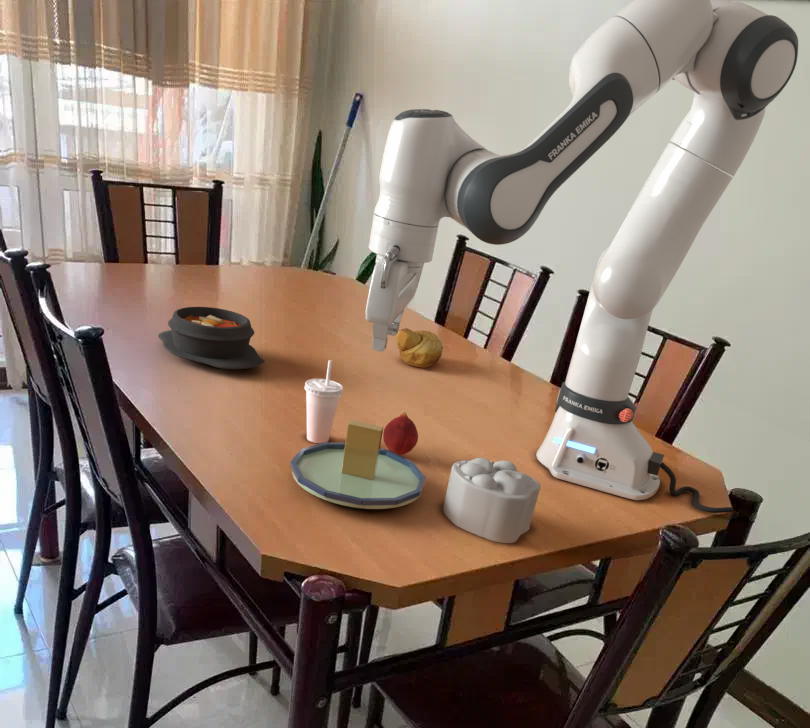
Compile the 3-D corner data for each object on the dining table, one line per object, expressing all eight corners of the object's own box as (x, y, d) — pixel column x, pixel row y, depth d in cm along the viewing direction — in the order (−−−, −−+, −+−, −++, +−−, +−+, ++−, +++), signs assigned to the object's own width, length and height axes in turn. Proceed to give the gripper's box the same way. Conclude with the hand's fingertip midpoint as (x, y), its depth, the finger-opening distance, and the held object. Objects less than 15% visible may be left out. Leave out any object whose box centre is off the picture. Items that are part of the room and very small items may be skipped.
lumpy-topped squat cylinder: (507, 548, 114) (522, 493, 110) (429, 515, 119) (440, 462, 115) (535, 524, 123) (549, 472, 118) (460, 494, 127) (472, 444, 123)
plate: (431, 467, 130) (441, 417, 126) (411, 521, 113) (422, 465, 109) (312, 440, 132) (318, 390, 127) (274, 489, 114) (279, 433, 110)
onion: (420, 459, 137) (429, 415, 133) (398, 466, 133) (406, 421, 129) (396, 446, 140) (403, 403, 136) (373, 452, 136) (380, 408, 132)
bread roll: (414, 351, 194) (420, 318, 190) (450, 363, 190) (456, 329, 186) (389, 361, 183) (394, 326, 179) (426, 373, 180) (433, 338, 176)
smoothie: (321, 449, 133) (331, 368, 127) (291, 437, 136) (299, 357, 129) (343, 440, 138) (354, 362, 132) (313, 428, 141) (323, 350, 134)
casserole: (284, 371, 165) (288, 331, 161) (210, 383, 152) (212, 339, 148) (210, 335, 178) (212, 297, 174) (135, 343, 165) (135, 302, 161)
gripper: (412, 258, 99) (393, 365, 106) (435, 237, 117) (417, 330, 124) (363, 247, 100) (347, 355, 107) (393, 228, 118) (377, 321, 124)
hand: (385, 341), depth 115 cm, fingers open, 8 cm apart
